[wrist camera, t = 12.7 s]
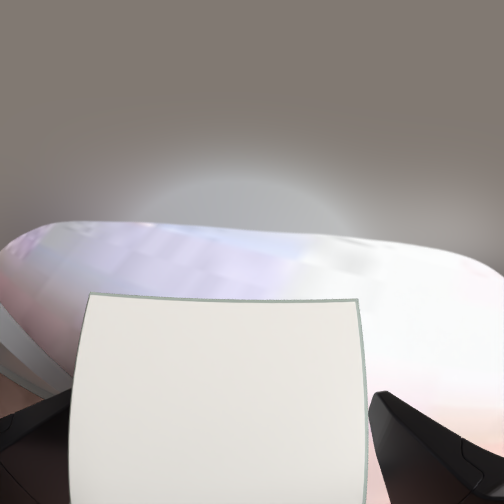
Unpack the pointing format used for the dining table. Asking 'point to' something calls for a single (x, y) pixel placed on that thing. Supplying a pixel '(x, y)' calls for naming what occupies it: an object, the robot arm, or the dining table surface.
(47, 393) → the equipment case
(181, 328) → the block
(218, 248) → the dining table surface
